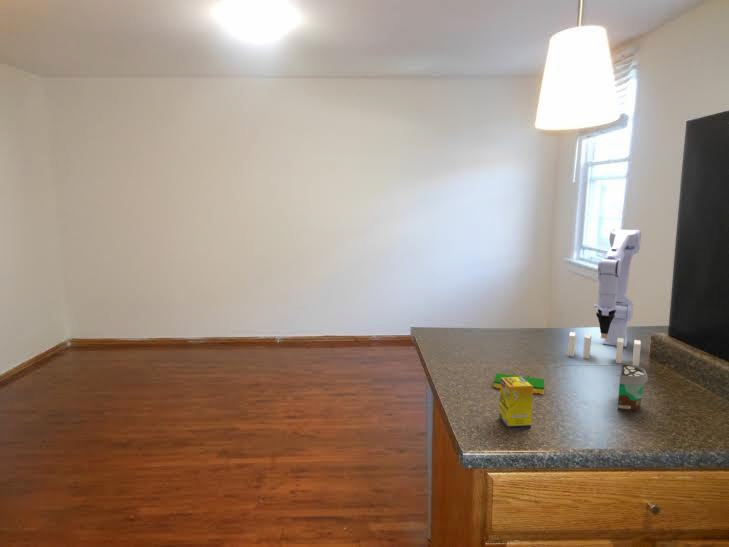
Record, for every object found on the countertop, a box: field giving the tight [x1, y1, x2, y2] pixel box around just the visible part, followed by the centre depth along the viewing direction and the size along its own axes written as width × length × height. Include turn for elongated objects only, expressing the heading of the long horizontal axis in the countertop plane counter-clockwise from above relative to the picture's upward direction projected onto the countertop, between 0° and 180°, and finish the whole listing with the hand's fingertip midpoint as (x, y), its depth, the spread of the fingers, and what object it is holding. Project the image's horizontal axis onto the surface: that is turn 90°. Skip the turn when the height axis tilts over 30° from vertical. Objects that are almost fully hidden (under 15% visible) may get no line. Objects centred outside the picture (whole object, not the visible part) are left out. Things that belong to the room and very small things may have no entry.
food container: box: [617, 361, 648, 412], centre depth 120 cm, size 12×6×10 cm, turn 148°
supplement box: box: [498, 376, 534, 430], centre depth 111 cm, size 6×6×11 cm
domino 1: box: [567, 331, 577, 357], centre depth 162 cm, size 2×5×8 cm, turn 149°
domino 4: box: [615, 338, 624, 364], centre depth 154 cm, size 2×5×8 cm, turn 149°
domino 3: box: [600, 332, 608, 339], centre depth 158 cm, size 2×5×8 cm, turn 149°
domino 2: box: [582, 333, 592, 360], centre depth 159 cm, size 2×5×8 cm, turn 149°
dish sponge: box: [493, 373, 545, 395], centre depth 134 cm, size 7×14×2 cm, turn 68°
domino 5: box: [632, 339, 642, 367], centre depth 152 cm, size 2×5×8 cm, turn 149°
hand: (604, 331), depth 159 cm, fingers closed on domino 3, 5 cm apart
